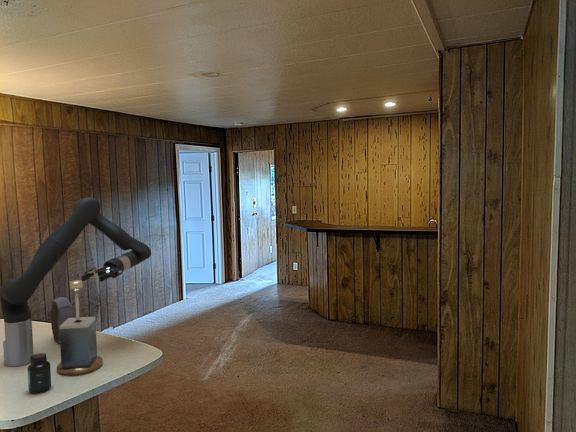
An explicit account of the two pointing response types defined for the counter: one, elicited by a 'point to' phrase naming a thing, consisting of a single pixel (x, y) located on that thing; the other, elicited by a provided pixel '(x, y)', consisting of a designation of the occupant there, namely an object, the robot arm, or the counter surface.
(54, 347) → the counter surface
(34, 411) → the counter surface
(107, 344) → the counter surface
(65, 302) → the soft grey pack
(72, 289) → the plunger
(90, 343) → the square holed block
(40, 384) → the supplement bottle
